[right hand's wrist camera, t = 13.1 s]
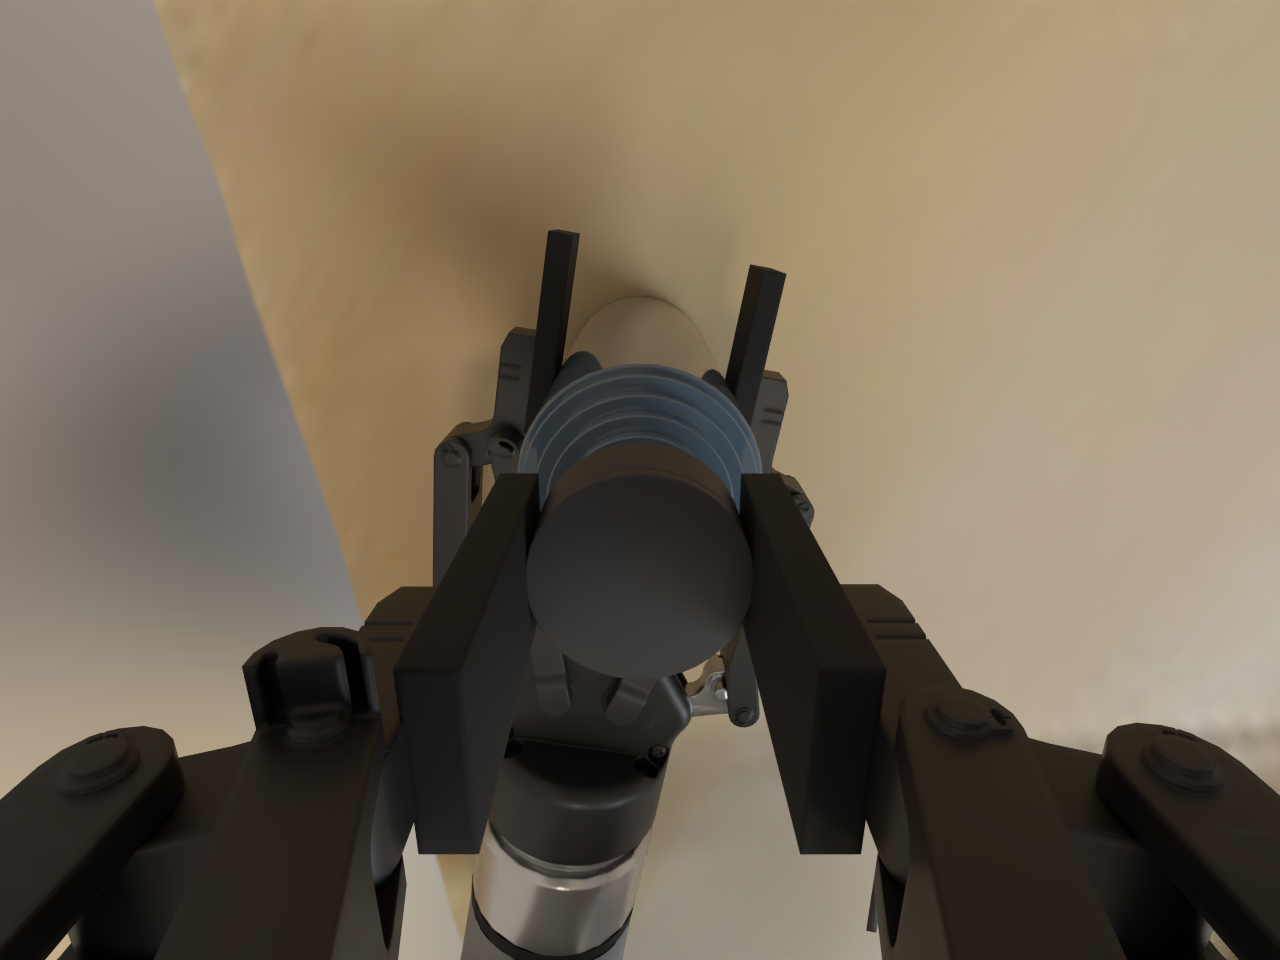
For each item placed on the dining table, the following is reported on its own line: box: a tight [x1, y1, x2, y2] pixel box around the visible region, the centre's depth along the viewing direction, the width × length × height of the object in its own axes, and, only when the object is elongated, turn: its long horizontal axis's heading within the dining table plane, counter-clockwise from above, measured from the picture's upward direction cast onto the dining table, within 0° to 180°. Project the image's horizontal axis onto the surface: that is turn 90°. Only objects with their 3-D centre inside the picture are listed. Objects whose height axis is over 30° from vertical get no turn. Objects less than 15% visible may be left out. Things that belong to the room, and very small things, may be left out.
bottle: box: [517, 297, 762, 513], centre depth 22 cm, size 6×6×20 cm
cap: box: [526, 442, 753, 679], centre depth 13 cm, size 4×4×2 cm
